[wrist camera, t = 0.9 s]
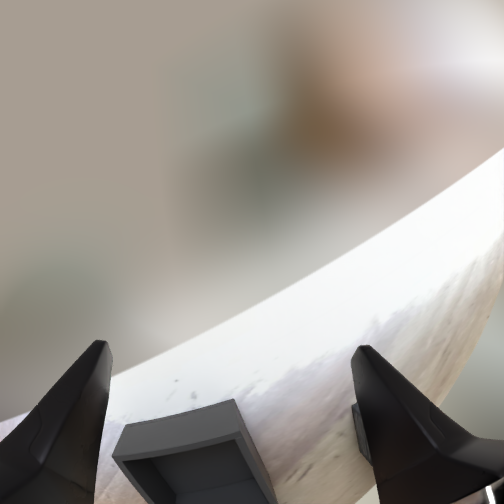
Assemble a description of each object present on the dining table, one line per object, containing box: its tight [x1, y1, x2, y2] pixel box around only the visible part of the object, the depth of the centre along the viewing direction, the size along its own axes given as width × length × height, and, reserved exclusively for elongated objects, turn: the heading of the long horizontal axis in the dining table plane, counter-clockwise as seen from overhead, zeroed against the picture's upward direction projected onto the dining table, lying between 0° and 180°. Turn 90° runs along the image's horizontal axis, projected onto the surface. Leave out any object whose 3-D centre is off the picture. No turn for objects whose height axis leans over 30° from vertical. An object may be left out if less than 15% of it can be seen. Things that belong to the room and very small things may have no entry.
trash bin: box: [112, 399, 278, 504], centre depth 21 cm, size 11×11×6 cm
